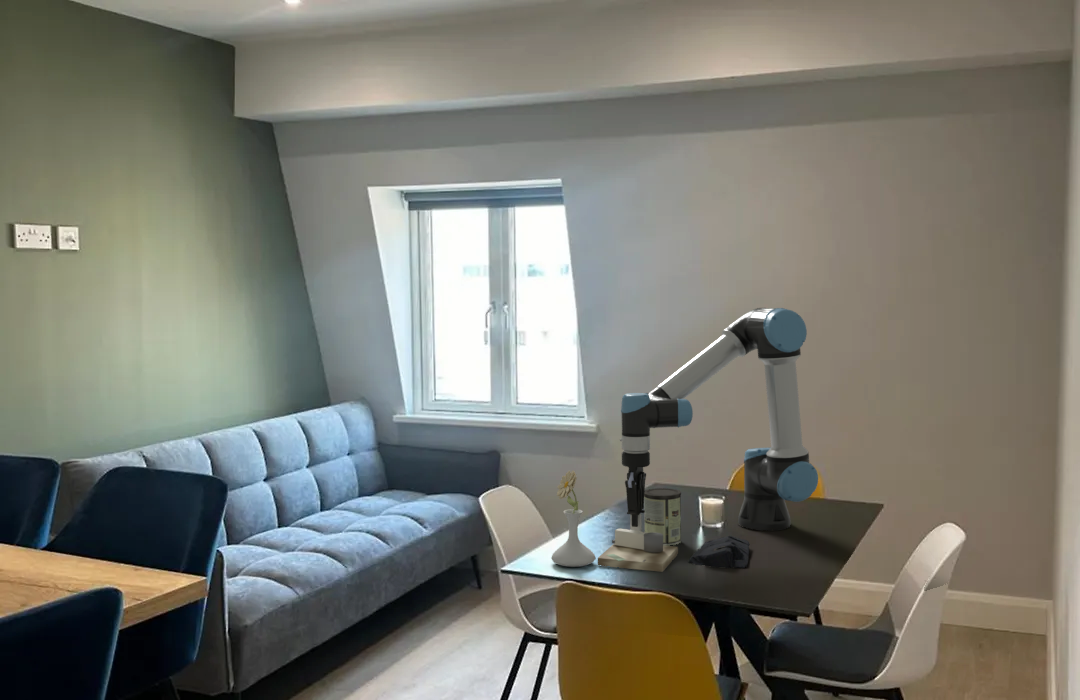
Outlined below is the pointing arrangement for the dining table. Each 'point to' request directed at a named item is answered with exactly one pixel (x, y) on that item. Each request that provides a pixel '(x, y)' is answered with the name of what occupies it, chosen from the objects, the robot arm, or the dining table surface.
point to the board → (637, 558)
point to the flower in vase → (572, 530)
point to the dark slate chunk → (722, 553)
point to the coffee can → (663, 514)
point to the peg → (639, 540)
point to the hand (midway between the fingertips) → (635, 537)
